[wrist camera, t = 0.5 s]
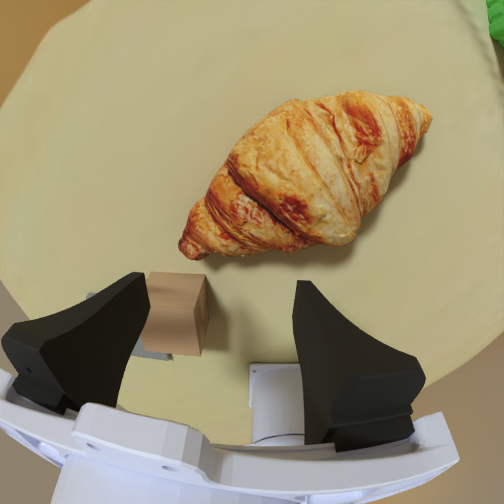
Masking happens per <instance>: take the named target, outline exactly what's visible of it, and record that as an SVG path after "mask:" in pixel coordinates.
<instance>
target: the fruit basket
mask: <svg viewBox="0 0 504 504" xmlns="http://www.w3.org/2000/svg"><path fill="white" fill-rule="evenodd" d="M486 3H487V6H488V17H489V22H490V35H491V37H492V38H493V39H495V40H497V41H498V43H499V44H500V45H501V46H502V47H503V48H504V0H486Z"/></svg>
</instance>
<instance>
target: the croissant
mask: <svg viewBox="0 0 504 504" xmlns="http://www.w3.org/2000/svg"><path fill="white" fill-rule="evenodd" d="M431 121H432V116H431V113H430V112H429V111H428V110H427V108H426V107H424V106H422V105H420V104H417V103H415V102H414V101H412V100H410V99H409V98H407V97H397V96H393V97H386V96H384V95H379V94H372V93H369V92H366V91H362V90H361V91H347V92H342V93H339V94H338V95H334V96H330V97H329V96H325V97H322V98H319V99H316V100H314V99H309V98H308V99H305V100H303V101H299V100H298V99H293V100H290V101H288V102H286V103H285V104H283V105H281V106H279V107H278V108H276V109H275V110H273V111H272V112H270V113H269V114H268V115H267V116H265V117H264V118H263V119H262V120H260V121H259V122H258V123H256V124H255V125H254V126H253V127H251V128H250V129H249V130H248V131H247V132H246V133H245V134H244V135H243V136H242V137H241V138H240V140H239V141H238V142H237V143H236V145H235V147H234V148H233V149H232V151H231V152H230V154H229V156H228V158H227V160H226V161H225V162H224V164H223V165H222V167H221V168H220V169H219V171H218V172H217V174H216V175H215V177H214V178H213V180H212V182H211V184H210V186H209V189H208V191H207V193H206V196H205V197H203V198H202V200H200V201H199V202H197V203H196V204H195V205H194V206H193V208H192V209H191V210H190V213H189V217H188V221H187V224H186V227H185V229H184V231H183V235H182V238H181V239H180V240H179V243H178V248H179V250H180V251H181V252H182V253H183V254H184V255H185V256H186V257H187V258H188V259H190V260H196V261H198V260H201V259H203V258H205V257H206V256H208V255H210V254H212V253H220V254H221V255H223V256H229V257H230V256H235V255H239V256H240V255H241V256H243V257H244V255H251V254H257V253H258V252H262V253H263V252H267V251H270V250H273V249H277V250H283V251H284V253H291V252H292V253H296V252H298V251H300V250H301V249H305V248H307V247H310V246H314V245H317V244H324V245H329V246H343V245H347V244H348V243H349V242H350V241H352V240H353V239H354V238H355V236H356V235H357V234H356V231H357V230H358V229H359V228H360V226H361V225H360V217H363V216H365V215H367V214H368V213H370V211H371V210H372V209H374V208H375V207H376V206H377V205H378V203H379V202H380V201H381V200H382V198H383V197H384V196H385V194H386V192H387V189H388V185H389V182H390V179H391V177H392V175H393V174H394V173H395V171H396V170H397V169H398V168H399V167H401V166H402V165H403V164H404V163H406V162H407V161H408V160H409V159H410V158H411V157H412V156H413V154H414V151H415V148H416V145H417V143H418V140H419V137H421V136H423V135H424V134H425V133H427V131H428V129H429V127H430V124H431Z"/></svg>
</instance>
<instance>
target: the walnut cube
mask: <svg viewBox="0 0 504 504" xmlns="http://www.w3.org/2000/svg"><path fill="white" fill-rule="evenodd" d="M146 286H147V291H148V296H149V301H150V305H151V308H150V311H149V315H148V318H147V321H146V324H145V326H144V328H143V330H142V332H141V334H140V337H141V340H142V343H143V346H144V349H145V350H146V351H153V352H161V353H169V354H178V355H188V356H199V357H201V352H202V348H203V343H204V339H205V334H206V330H207V326H208V321H209V314H208V303H207V292H206V280H205V274H181V273H160V272H151V273H150V275H149V276H148V278H147V279H146Z"/></svg>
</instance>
